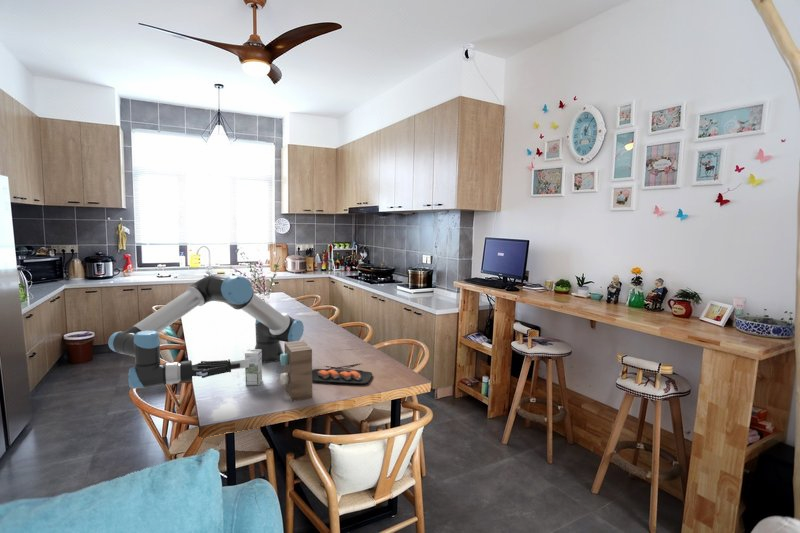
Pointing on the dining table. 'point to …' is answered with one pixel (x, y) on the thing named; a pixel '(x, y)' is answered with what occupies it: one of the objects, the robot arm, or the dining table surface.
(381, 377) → the dining table surface
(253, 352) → the syrup box
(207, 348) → the dining table surface
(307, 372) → the block
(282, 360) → the teal knob
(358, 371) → the sushi plate
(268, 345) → the robot arm
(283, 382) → the cream knob
